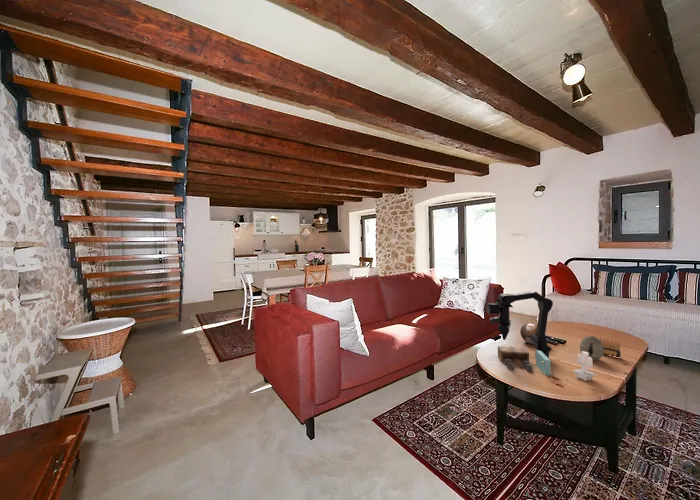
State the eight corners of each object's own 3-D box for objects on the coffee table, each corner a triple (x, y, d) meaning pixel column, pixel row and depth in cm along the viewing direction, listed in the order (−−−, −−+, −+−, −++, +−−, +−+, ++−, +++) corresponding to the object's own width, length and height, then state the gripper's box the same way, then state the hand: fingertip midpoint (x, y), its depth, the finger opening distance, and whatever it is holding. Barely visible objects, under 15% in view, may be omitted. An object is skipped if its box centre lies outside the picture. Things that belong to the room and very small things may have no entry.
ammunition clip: (620, 358, 186) (621, 339, 185) (620, 358, 185) (620, 340, 184) (598, 353, 194) (599, 335, 193) (598, 353, 193) (598, 336, 192)
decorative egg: (581, 354, 193) (581, 331, 192) (604, 359, 185) (605, 336, 184) (578, 359, 185) (578, 336, 184) (602, 365, 177) (603, 341, 176)
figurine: (597, 380, 159) (598, 353, 159) (584, 382, 157) (585, 355, 156) (584, 374, 166) (584, 348, 166) (571, 376, 164) (572, 350, 163)
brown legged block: (524, 358, 188) (524, 347, 188) (535, 371, 171) (535, 359, 171) (497, 356, 192) (497, 346, 192) (505, 368, 175) (505, 357, 174)
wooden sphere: (519, 344, 211) (519, 324, 210) (520, 338, 224) (521, 319, 223) (544, 348, 203) (544, 327, 202) (544, 341, 215) (544, 322, 215)
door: (534, 364, 180) (534, 350, 180) (540, 364, 179) (540, 350, 179) (543, 375, 166) (543, 359, 166) (550, 375, 166) (550, 360, 165)
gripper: (492, 309, 200) (492, 331, 201) (488, 316, 185) (489, 340, 185) (510, 310, 194) (510, 333, 195) (508, 318, 179) (509, 343, 179)
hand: (504, 337), depth 189 cm, fingers open, 9 cm apart
